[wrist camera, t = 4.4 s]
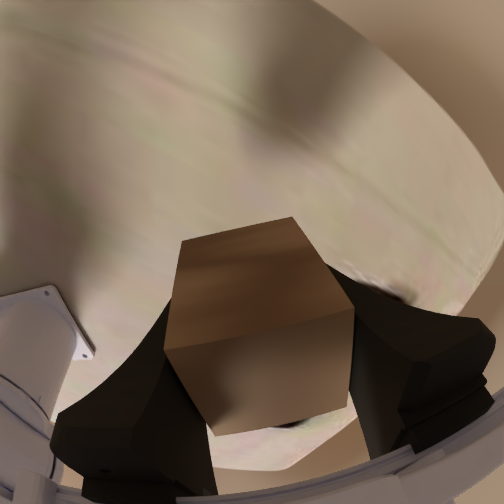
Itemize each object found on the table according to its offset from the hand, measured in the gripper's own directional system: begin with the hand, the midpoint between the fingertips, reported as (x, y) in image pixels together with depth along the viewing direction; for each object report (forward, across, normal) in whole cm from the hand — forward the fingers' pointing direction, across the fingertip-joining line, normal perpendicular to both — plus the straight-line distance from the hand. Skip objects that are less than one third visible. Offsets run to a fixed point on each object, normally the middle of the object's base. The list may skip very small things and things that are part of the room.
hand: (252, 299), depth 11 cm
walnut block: (+2, 0, 0) cm, 2 cm away
